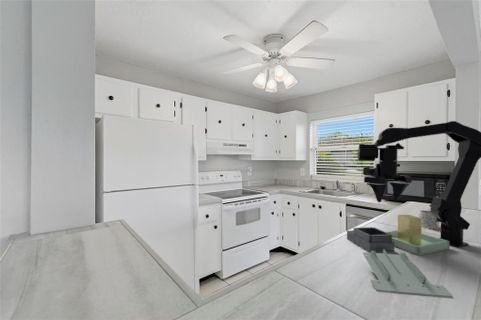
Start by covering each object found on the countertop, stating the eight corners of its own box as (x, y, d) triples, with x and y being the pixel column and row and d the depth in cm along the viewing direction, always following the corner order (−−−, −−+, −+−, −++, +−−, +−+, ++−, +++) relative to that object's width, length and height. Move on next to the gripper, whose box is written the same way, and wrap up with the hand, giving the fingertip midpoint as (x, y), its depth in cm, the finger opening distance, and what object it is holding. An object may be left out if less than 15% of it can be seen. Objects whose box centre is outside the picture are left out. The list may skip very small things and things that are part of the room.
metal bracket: (354, 244, 58) (414, 247, 56) (351, 261, 60) (410, 265, 58) (380, 289, 45) (460, 295, 43) (376, 310, 46) (453, 317, 44)
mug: (441, 230, 88) (441, 214, 88) (420, 227, 92) (420, 212, 92) (435, 224, 96) (435, 210, 96) (416, 222, 100) (417, 208, 100)
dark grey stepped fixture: (368, 238, 78) (368, 224, 78) (394, 251, 67) (394, 235, 67) (346, 238, 77) (347, 225, 77) (370, 252, 66) (370, 236, 66)
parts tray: (404, 234, 82) (405, 228, 82) (449, 248, 70) (449, 241, 70) (376, 239, 77) (376, 232, 77) (418, 255, 64) (418, 247, 64)
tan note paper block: (408, 239, 75) (409, 214, 75) (421, 244, 71) (421, 218, 71) (397, 240, 75) (397, 214, 75) (409, 245, 70) (409, 218, 70)
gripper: (384, 161, 93) (384, 196, 93) (352, 160, 86) (351, 199, 86) (412, 161, 82) (412, 201, 82) (378, 161, 76) (378, 204, 76)
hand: (387, 201), depth 82 cm, fingers open, 9 cm apart
